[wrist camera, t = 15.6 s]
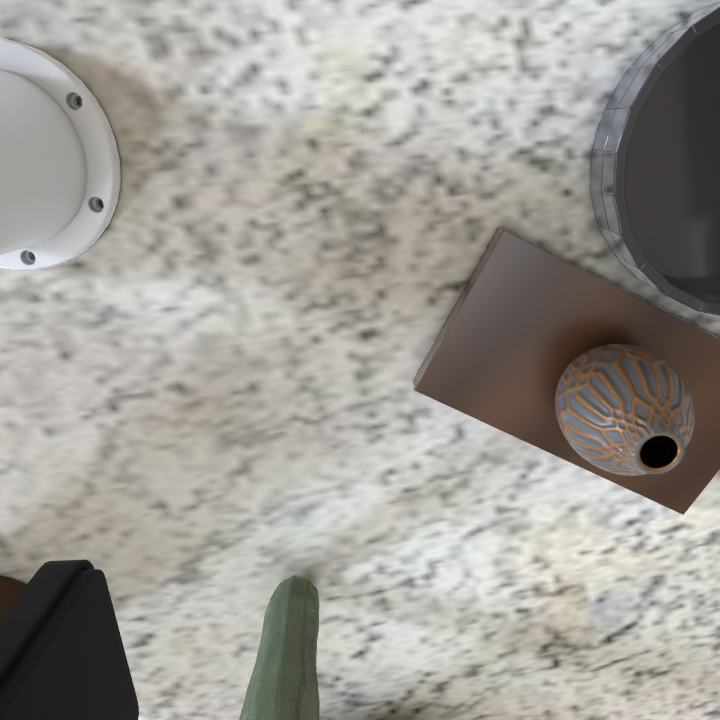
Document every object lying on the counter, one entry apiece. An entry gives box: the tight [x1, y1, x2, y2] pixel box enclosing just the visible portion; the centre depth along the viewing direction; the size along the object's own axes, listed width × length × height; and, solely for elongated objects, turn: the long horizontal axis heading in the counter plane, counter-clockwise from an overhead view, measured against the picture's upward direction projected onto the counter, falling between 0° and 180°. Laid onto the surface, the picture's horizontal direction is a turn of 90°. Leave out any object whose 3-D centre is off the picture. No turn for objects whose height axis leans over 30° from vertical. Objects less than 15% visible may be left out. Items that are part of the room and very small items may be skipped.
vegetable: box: [239, 576, 319, 720], centre depth 37 cm, size 4×4×20 cm
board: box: [413, 226, 720, 514], centre depth 39 cm, size 20×11×2 cm, turn 64°
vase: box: [555, 344, 695, 476], centre depth 34 cm, size 7×7×9 cm
